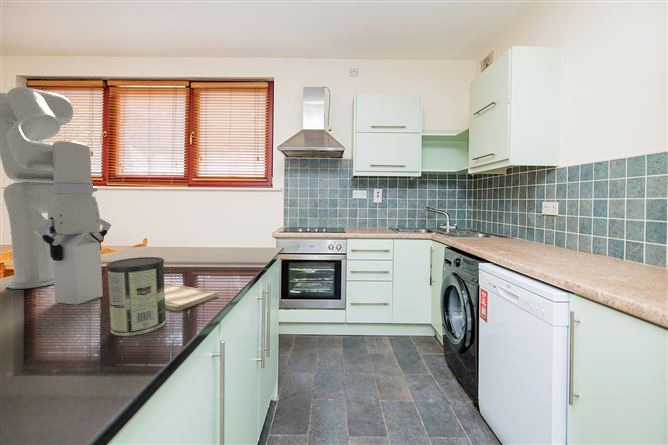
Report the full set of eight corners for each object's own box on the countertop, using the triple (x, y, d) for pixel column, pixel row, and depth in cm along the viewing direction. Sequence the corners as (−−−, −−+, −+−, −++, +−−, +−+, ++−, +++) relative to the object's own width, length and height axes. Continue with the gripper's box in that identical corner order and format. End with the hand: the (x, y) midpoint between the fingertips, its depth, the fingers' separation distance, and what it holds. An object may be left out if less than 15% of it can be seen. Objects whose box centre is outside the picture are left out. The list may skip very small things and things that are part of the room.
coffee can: (142, 314, 74) (140, 255, 73) (177, 320, 71) (175, 258, 70) (97, 332, 64) (93, 264, 63) (134, 340, 61) (131, 268, 60)
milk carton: (77, 305, 80) (73, 230, 78) (54, 303, 81) (50, 229, 79) (103, 296, 87) (99, 228, 85) (81, 294, 88) (78, 227, 86)
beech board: (115, 297, 86) (115, 292, 86) (159, 285, 98) (159, 281, 98) (177, 311, 76) (177, 306, 76) (217, 296, 88) (217, 291, 88)
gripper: (101, 191, 91) (104, 251, 92) (22, 189, 75) (27, 262, 76) (117, 191, 88) (120, 253, 89) (38, 190, 72) (43, 265, 73)
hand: (77, 257), depth 83 cm, fingers closed on milk carton, 8 cm apart
